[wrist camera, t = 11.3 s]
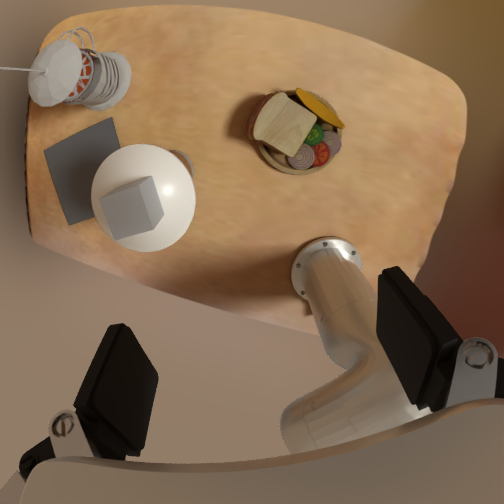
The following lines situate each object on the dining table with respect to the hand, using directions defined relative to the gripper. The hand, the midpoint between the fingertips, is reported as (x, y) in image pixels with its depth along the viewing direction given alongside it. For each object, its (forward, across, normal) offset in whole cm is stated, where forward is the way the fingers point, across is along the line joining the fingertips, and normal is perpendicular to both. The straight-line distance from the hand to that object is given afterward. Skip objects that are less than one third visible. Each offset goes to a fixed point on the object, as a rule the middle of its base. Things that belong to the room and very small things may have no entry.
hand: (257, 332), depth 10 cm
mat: (+34, +24, -6) cm, 42 cm away
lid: (+19, +10, -2) cm, 22 cm away
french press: (+34, +17, -20) cm, 43 cm away
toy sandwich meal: (+35, -8, -3) cm, 36 cm away
